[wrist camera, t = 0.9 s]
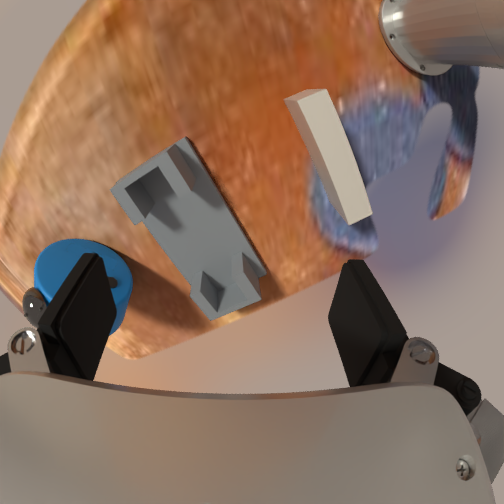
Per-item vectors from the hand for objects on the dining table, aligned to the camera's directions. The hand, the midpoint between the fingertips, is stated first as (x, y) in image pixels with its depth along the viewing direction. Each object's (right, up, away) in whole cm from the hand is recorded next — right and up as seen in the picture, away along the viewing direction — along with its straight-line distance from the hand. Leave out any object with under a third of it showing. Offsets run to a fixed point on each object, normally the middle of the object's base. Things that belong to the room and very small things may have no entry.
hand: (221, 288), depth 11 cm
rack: (-6, +5, +25) cm, 26 cm away
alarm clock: (-21, +1, +26) cm, 34 cm away
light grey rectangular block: (+9, +14, +21) cm, 27 cm away
